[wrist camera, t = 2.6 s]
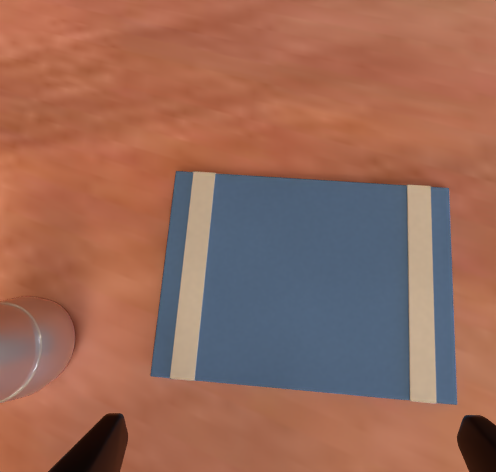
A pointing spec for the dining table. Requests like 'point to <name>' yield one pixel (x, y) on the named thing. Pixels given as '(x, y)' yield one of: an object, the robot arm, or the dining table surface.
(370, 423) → the dining table surface
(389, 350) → the towel
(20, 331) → the plastic bottle
